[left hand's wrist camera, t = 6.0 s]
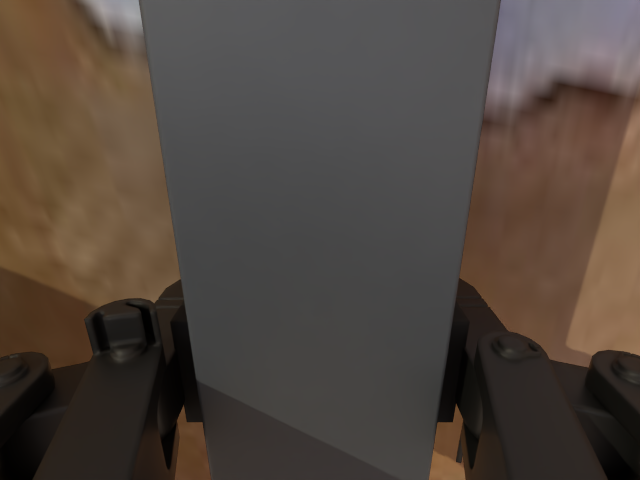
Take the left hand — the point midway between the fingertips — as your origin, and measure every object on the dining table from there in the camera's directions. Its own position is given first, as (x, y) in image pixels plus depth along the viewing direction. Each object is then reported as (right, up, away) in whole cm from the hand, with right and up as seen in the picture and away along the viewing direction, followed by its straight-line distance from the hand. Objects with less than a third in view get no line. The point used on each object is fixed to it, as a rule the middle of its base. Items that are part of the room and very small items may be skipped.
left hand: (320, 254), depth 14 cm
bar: (0, +7, -2) cm, 7 cm away
